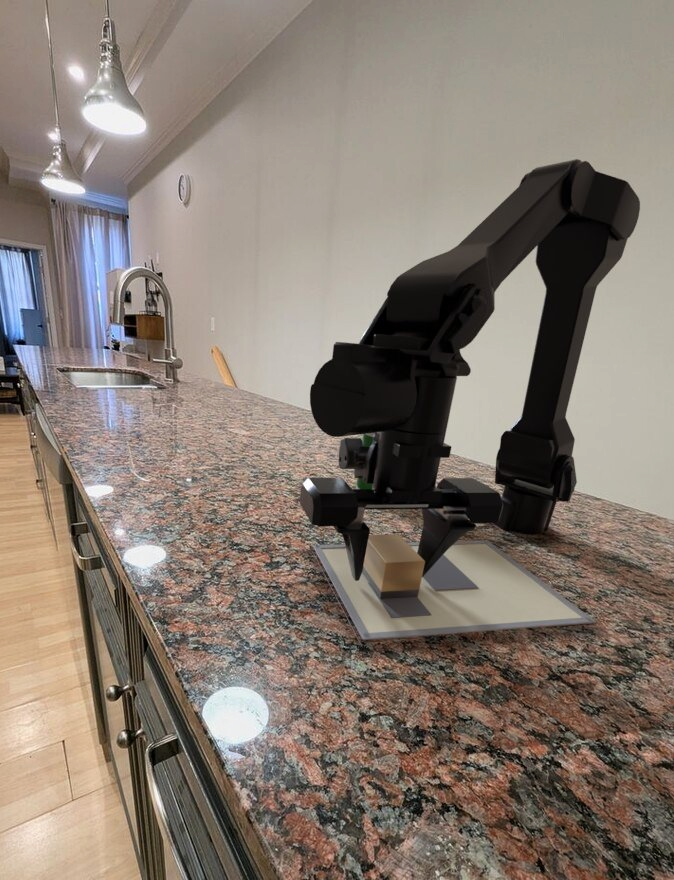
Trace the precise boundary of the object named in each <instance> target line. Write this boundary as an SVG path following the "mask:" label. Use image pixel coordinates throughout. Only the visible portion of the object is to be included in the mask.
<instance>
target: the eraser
mask: <svg viewBox="0 0 674 880" xmlns="http://www.w3.org/2000/svg"><path fill="white" fill-rule="evenodd" d="M408 543H409V542H408V541H406V540H405V539H404V538H403V537H402V536H401V535H400V534H399V533H398V534H369V538H368V544H367V549H366V554H365V560H364V565H363V571H362V573H363V574H364V576H365V577H366V578H367V580H368V581H369V583H370V584H371V586H372V587H373V589H374V590H375V592H376V593H377V595H378V596H379V598H380V599H385V598H403V597H418V593H419V588H420V584H421V579H422V574H423V569H424V564H425V561H424V560H423V559H422V558H421V557H420V556H419V555H418V554H417V552H416V551H415V550H414V549H413V548H412V547H411V546H410V545H409V544H408Z"/></svg>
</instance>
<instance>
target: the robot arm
mask: <svg viewBox="0 0 674 880" xmlns="http://www.w3.org/2000/svg"><path fill="white" fill-rule="evenodd" d="M640 211H641V201H640V197H639V196H638V194H637V193H636V192H635V190H634V189H633V187H632V186H631V184H630V183H629V182H628V181H627V180H625V179H622V178H618V177H615V176H612V175H609V174H606V173H602V172H600V171H597V170H595V168H594V167H593V166H592V165H591V163H590V162H589V161H587V160H584V161H583V160H581V159H578V158H576V159H571V160H566V161H561V162H557V163H552V164H547V165H544V166H538V167H536V168H534V169H532V170H531V171H529V172H526V174H524V175H523V177H522V179H521V180H520V183H519V186H518V187H517V188H516V189H514V191H512V193H511V194H509V195H508V196H507V197H506V198H505V199H504V200H503V201H502V202H501V203H500V204H499V205H498V206H497V207H496V208H495V209H494V210H493V211H492V212H491V213H490V214H489V215H488V216H486V218H484V220H482V221H481V222H480V223H479V224H478V225H477V226H476V227H475V228H474V229H473V230H472V231H471V232H470V233H469V234H468V235H467V236H466V237H465V238H464V239H463V240H462V241H460V242H459V244H458V245H456V246H454V247H453V248H451V249H450V250H447V251H446V252H443V253H441V254H438V255H434V256H432V257H430V258H428V259H425V260H422V261H421V262H419V263H417V264H416V265H413V266H412V267H411V268H408V269H407V270H406V271H405V272H403V273H401V274H399V275H398V276H397V277H395V279H394V280H393V282H392V283H391V285H390V287H389V288H388V290H387V293H386V296H387V297H386V298H385V300H384V301H383V304H382V305H381V306H380V308H379V310H378V311H377V313H376V314H375V316H374V317H373V319H372V321H371V323H370V324H369V326H368V327H367V329H366V330H365V332H364V333H363V335H362V336H361V338H360V340H359V341H358V343H357V342H356V343H355V342H347V341H346V342H345V341H343V342H342V341H335V343H333V347H332V356H331V359H329V360H328V361H326V362H324V363H323V365H322V366H321V367H320V368H319V370H318V372H317V374H316V375H315V378H314V381H313V384H311V386H310V389H309V404H310V411H311V414H312V417H313V420H314V422H315V424H316V425H317V427H318V428H319V429H320V430H321V431H322V432H323V433H324V434H326V436H329V437H332V438H340V437H344V438H341V439H340V446H339V450H338V467H339V469H340V470H354V472H353V473H354V476H353V477H354V479H357V478H363V479H362V480H363V481H364V482H365V483H366V484H372V489H356V488H352V487H351V486H350V485H349V484H348V483H347V481H346V480H345V479H343V477H307V478H306V479H305V480H304V482H303V483H302V484H301V486H300V493H299V505H300V506H301V509H302V510H303V511H304V513H305V515H306V516H307V518H308V520H309V522H310V524H311V525H314V526H317V527H322V528H323V527H332V528H334V530H335V531H336V532H337V533H338V534H341V536H342V539H343V542H344V544H345V547H346V551H347V556H348V560H349V564H350V569H351V573H352V576H353V578H354V580H355V581H359V579H360V576H361V574H362V571H363V565H364V560H365V554H366V549H367V544H368V538H369V535H370V533H371V529H370V527H369V526H368V525H367V524H366V523H365V521H364V516H365V511H366V510H369V511H370V510H421V512H422V521H423V523H422V524H423V525H422V530H421V534H420V538H419V542H420V543H419V547H418V552H417V554H418V555H419V556H420V557H421V558H422V559H423V560H424V561H425V564H424V569H423V574H422V577H423V576H424V575H425V574H426V573H427V572H428V571H429V570H430V568H431V567H432V566H433V565H434V564H435V563H436V562H437V561H438V560H439V558H440V557H441V556H442V555H443V554H444V553H445V552H446V551H447V550H448V549H449V548H450V547H451V546H452V545H453V544H454V543H455V542H456V541H460V539H461V538H462V537H463V536H464V535H466V533H468V532H474V531H475V530H476V527H477V525H476V524H493V525H495V526H496V527H498V528H499V529H500V530H502V531H504V532H510V533H517V534H522V535H527V536H539V535H542V534H543V533H544V532H547V531H548V530H549V527H550V524H551V520H552V518H553V514H554V510H555V508H556V506H557V505H556V504H557V503H558V502H564V503H569V502H570V501H571V498H572V495H573V494H574V492H575V488H576V485H577V483H578V481H577V473H576V465H575V464H576V463H575V458H574V457H573V452H574V446H575V442H576V441H575V440H576V439H575V436H574V434H573V432H572V429H571V427H570V424H569V421H568V420H567V418H566V417H567V411H568V409H569V408H568V407H569V402H570V399H571V394H572V390H573V387H574V383H575V379H576V374H577V370H578V365H579V361H580V357H581V354H582V349H583V345H584V341H585V336H586V332H587V328H588V325H589V324H588V323H589V320H590V316H591V312H592V308H593V303H594V299H595V295H596V292H597V288H598V286H599V285H600V283H601V282H602V281H603V280H604V279H605V278H606V276H607V275H608V274H609V273H610V272H611V271H612V270H613V268H614V267H615V266H616V265H617V264H618V263H619V261H621V259H622V258H623V255H624V251H625V248H626V245H627V243H628V242H627V241H628V239H629V238H631V236H632V235H633V233H634V231H635V229H636V226H637V224H638V221H639V216H640ZM535 249H536V252H535V265H536V267H537V270H538V272H539V275H540V277H541V280H542V282H543V284H544V287H545V294H544V299H543V305H542V309H541V315H540V319H539V325H538V330H537V336H536V340H535V345H534V351H533V356H532V361H531V366H530V372H529V377H528V381H527V386H526V392H525V396H524V402H523V407H522V413H521V416H520V418H519V419H518V420H517V421H516V422H515V423H514V424H513V425H512V426H511V427H510V428H509V429H508V430H505V431H504V432H503V433H502V434H501V436H500V442H499V448H498V450H497V454H496V459H495V473H494V474H495V475H494V484H495V485H500V486H504V487H503V491H502V496H501V494H500V492H499V491H497V490H495V489H493V488H492V487H490V486H488V485H486V484H484V483H483V482H481V481H480V480H477V479H475V478H474V477H443V478H442V479H441V480H440V481H438V482H437V479H438V474H439V469H440V463H441V459H449V458H450V457H451V452H452V446H451V445H449V444H447V443H445V439H446V435H447V429H448V425H449V420H450V415H451V410H452V405H453V400H454V394H455V389H456V386H457V379H458V377H468V376H470V374H471V373H472V369H471V367H470V364H469V363H468V362H467V361H466V360H465V359H464V358H463V355H462V353H461V350H462V349H465V348H466V347H467V346H468V345H470V344H471V343H472V342H473V341H474V340H475V338H476V337H477V336H478V334H479V333H480V331H481V330H482V329H483V327H484V326H485V325H486V324H487V322H488V320H489V319H490V318H491V316H492V315H493V313H494V312H495V310H496V309H495V308H496V306H495V303H496V302H495V301H496V299H495V295H496V294H495V293H496V292H497V290H498V289H499V287H500V285H501V284H502V283H503V282H504V281H505V280H506V279H507V278H508V277H509V276H510V275H511V274H512V273H513V272H514V270H515V269H516V268H517V267H518V266H519V265H520V264H522V262H523V261H524V260H525V259H526V258H527V257H528V256H529V255H530V254H531V253H532V252H533V251H534V250H535ZM367 433H375V434H374V436H373V441H372V445H371V446H363V443H362V439H363V438H361V437H360V438H359V437H349V436H358V435H363V434H367ZM436 484H437V485H436ZM383 499H384V500H383Z"/></svg>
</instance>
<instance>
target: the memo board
mask: <svg viewBox="0 0 674 880" xmlns="http://www.w3.org/2000/svg"><path fill="white" fill-rule="evenodd" d="M407 543H408V544H409V545H410V546H411V547H412V548H413V549H414V550H415V551H416V552H418V547H419V543H420V541H417V542H416V541H415V542H407ZM312 548H313V549H314V551H315V552H314V551H313V550H312V551H311V553H312V554H313V556H314V558H315V560H316V562H317V564H318V566H319V567H320V570H321V571H322V573H323V575H324V577H325V579H326V581H327V583H328V585H329V587H330V588H331V590H332V592H333V594H334V596H335V599H336V600H337V603H338V604H339V606H340V608H341V610H342V612H343V614H344V616H345V617H346V620H347V622H348V623H349V626H350V627H351V630H352V631H353V633H354V635H355V637H356V639H357V641H358V643H359V645H360V647H361V648H363V645H362V642H361V641H377V640H388V639H403V638H416V637H428V636H429V637H430V636H442V635H457V634H469V633H481V632H482V633H483V632H495V631H509V630H522V629H536V628H537V629H538V628H548V627H560V626H561V627H562V626H575V625H576V626H577V625H588V624H589V625H590V624H597V621H596V620H595V619H594V618H592V617H591V616H589V614H587V613H586V612H584V611H583V610H581V609H580V608H579V607H577V606H576V605H575V604H574V603H572V602H570V601H569V600H568V599H567V598H565V597H564V596H562V595H561V594H560V593H559V592H557V591H556V590H555V589H553V588H552V587H550V586H549V585H548V584H546V583H545V582H543V580H541V579H540V578H538V577H537V576H536V575H534V574H533V573H531V571H529V570H528V569H526V567H524V566H523V565H521V564H520V563H518V562H517V561H515V560H514V559H513V558H512V557H510V555H507V554H506V553H505V552H504V551H503V550H501V549H499V548H498V547H497V546H496V545H494V544H493V543H491V542H490V541H489V540H458V541H456V542H455V543H454V544H453V545H452V546H451V547H450V548H449V549H448V550H447V551H446V552H445V553H444V554H443V555H442V556H441V557H440V558H439V560H438V561H437V562H436V563H435V564H434V565H433V566H432V567H431V568H430V570H429V571H428V572H427V573H426V574H425V575H424V576H423V577H422V579H421V584H420V588H419V593H418V597H403V598H385V599H380V598H379V596H378V595H377V593H376V592H375V590H374V589H373V587H372V586H371V584H370V583H369V581H368V580H367V578H366V577H365V576H364V574H363V573H362V574H361V576H360V579H359V581H355V580H354V578H353V576H352V573H351V569H350V564H349V560H348V556H347V551H346V547H345V543H344V544H316V545H315V544H314V545H312ZM315 553H316V555H317V557H318V558H317V557H316V555H315ZM318 559H319V560H318ZM319 561H320V562H321V564H322V566H321V564H320V563H319ZM322 567H323V568H324V570H323V568H322ZM324 571H325V572H324ZM325 573H326V574H327V576H328V577H327V576H326V574H325ZM328 578H329V579H328ZM329 580H330V581H329ZM330 582H331V583H332V585H331V583H330ZM332 586H333V587H334V589H335V590H334V589H333V587H332ZM335 591H336V593H337V594H336V593H335ZM337 595H338V596H339V598H340V601H341V602H342V604H343V606H344V608H345V610H346V612H347V614H348V615H349V617H350V619H351V621H352V623H353V624H351V621H350V619H349V618H348V616H347V614H346V612H345V610H344V609H343V607H342V604H341V602H340V601H339V598H338V597H337ZM352 625H354V627H355V629H356V631H357V632H358V635H359V636H360V638H361V641H360V639H359V636H357V633H356V631H355V630H354V627H353V626H352Z"/></svg>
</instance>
